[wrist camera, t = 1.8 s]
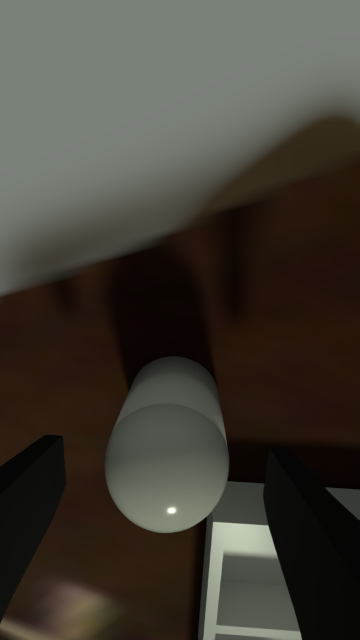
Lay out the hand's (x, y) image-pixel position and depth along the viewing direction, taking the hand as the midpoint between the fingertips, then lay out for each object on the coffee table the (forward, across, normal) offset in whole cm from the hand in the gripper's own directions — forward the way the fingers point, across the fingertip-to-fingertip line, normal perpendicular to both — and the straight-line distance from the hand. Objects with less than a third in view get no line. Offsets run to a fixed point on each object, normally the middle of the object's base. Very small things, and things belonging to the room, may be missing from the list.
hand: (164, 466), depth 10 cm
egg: (+5, 0, 0) cm, 5 cm away
